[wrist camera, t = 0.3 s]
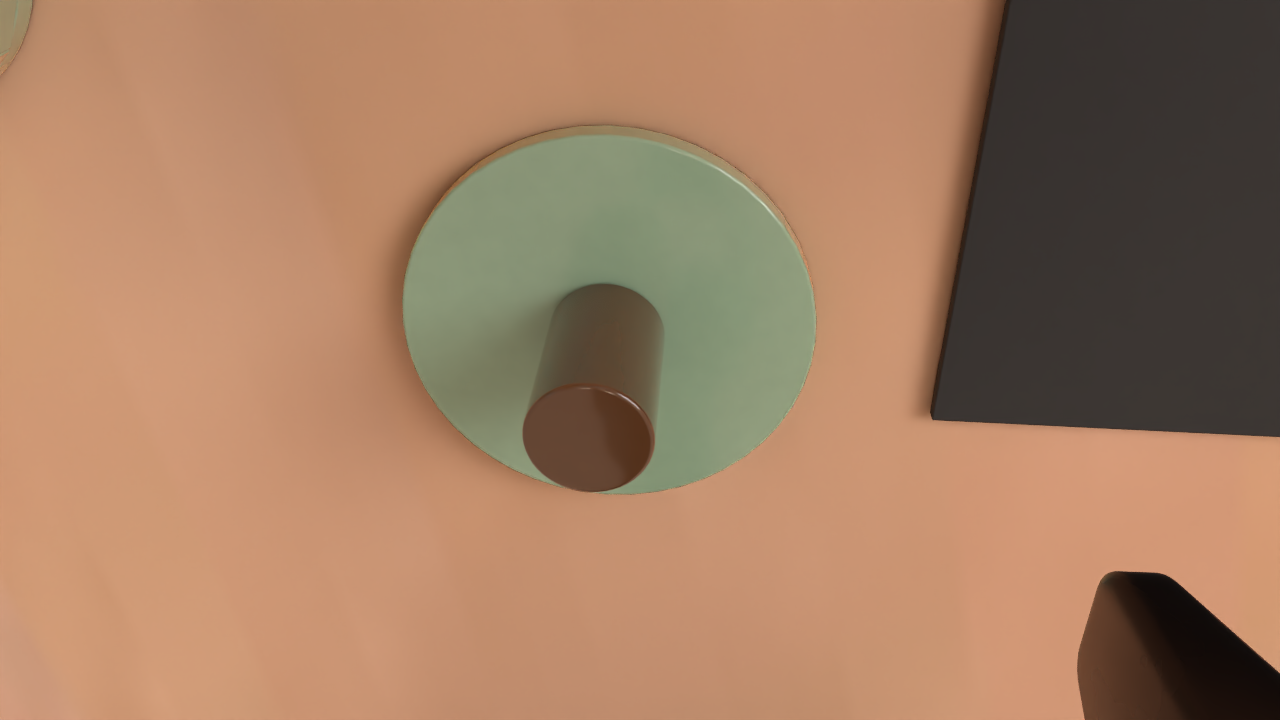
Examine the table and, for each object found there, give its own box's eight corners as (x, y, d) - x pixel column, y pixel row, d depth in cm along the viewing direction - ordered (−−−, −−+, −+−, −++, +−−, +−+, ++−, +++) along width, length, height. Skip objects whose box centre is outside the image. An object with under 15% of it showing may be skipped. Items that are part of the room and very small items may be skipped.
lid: (795, 489, 26) (807, 629, 22) (426, 469, 26) (376, 603, 23) (835, 132, 21) (858, 232, 18) (387, 115, 22) (318, 210, 18)
